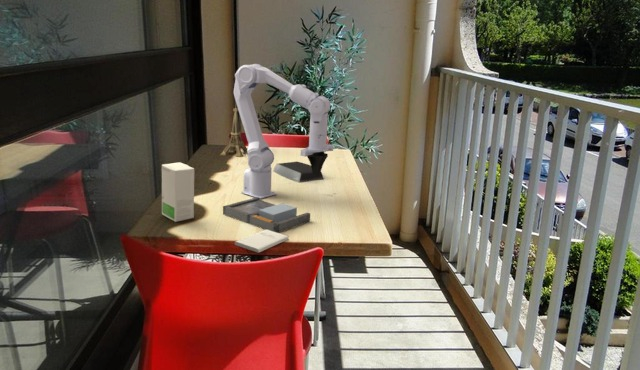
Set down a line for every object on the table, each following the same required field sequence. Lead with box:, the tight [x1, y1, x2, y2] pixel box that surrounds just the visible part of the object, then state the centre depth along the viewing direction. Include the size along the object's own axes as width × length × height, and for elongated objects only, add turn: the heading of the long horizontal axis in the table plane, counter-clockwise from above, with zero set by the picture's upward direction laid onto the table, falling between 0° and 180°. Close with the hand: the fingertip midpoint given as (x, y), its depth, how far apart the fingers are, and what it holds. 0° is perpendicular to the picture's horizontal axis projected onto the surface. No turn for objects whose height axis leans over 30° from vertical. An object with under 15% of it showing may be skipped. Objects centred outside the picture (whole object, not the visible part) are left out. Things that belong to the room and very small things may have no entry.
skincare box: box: [161, 161, 195, 223], centre depth 158 cm, size 8×7×16 cm
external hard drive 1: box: [234, 229, 289, 253], centre depth 143 cm, size 2×8×12 cm
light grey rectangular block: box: [259, 203, 298, 223], centre depth 160 cm, size 6×10×4 cm, turn 140°
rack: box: [222, 197, 311, 233], centre depth 162 cm, size 23×14×3 cm, turn 51°
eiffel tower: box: [219, 106, 248, 158], centre depth 242 cm, size 11×11×25 cm
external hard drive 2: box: [272, 161, 324, 183], centre depth 213 cm, size 13×19×4 cm
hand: (316, 174), depth 178 cm, fingers closed
